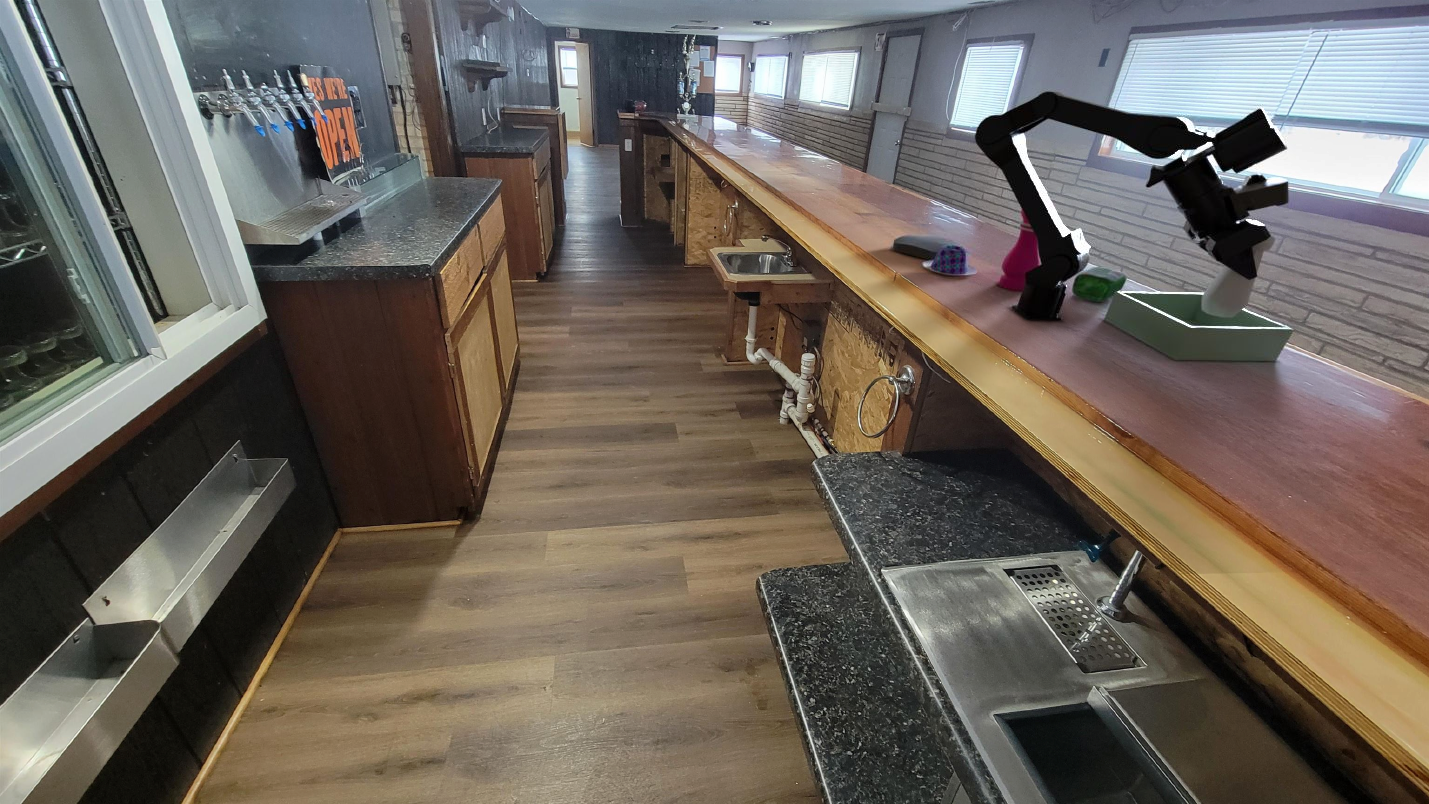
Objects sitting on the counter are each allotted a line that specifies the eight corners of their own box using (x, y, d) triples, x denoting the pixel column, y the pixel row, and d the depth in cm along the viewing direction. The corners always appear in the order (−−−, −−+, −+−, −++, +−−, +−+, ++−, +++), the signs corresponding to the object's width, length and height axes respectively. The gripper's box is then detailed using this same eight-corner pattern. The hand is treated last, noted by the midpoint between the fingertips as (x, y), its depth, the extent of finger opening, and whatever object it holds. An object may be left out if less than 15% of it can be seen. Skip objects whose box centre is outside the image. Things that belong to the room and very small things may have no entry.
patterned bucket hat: (951, 261, 138) (956, 240, 135) (987, 276, 128) (994, 253, 126) (911, 265, 134) (915, 242, 131) (945, 280, 124) (951, 256, 122)
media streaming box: (886, 250, 145) (888, 238, 144) (915, 242, 154) (917, 231, 152) (938, 263, 136) (941, 251, 135) (966, 254, 145) (969, 242, 143)
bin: (1175, 360, 91) (1191, 327, 88) (1103, 319, 106) (1115, 291, 103) (1275, 361, 92) (1294, 329, 89) (1190, 321, 107) (1204, 292, 105)
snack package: (1125, 293, 121) (1135, 269, 119) (1100, 307, 112) (1110, 282, 110) (1089, 285, 126) (1098, 261, 123) (1062, 298, 117) (1071, 273, 114)
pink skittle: (1034, 285, 123) (1066, 189, 113) (1030, 294, 118) (1063, 194, 108) (999, 279, 127) (1026, 185, 117) (993, 287, 121) (1022, 189, 111)
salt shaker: (1211, 305, 95) (1251, 227, 88) (1248, 318, 90) (1294, 236, 84) (1187, 308, 93) (1227, 228, 86) (1224, 321, 88) (1269, 237, 82)
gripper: (1290, 162, 74) (1346, 259, 76) (1244, 150, 89) (1292, 231, 90) (1189, 215, 81) (1243, 303, 82) (1162, 196, 95) (1209, 271, 97)
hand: (1249, 275), depth 88 cm, fingers closed on salt shaker, 3 cm apart
